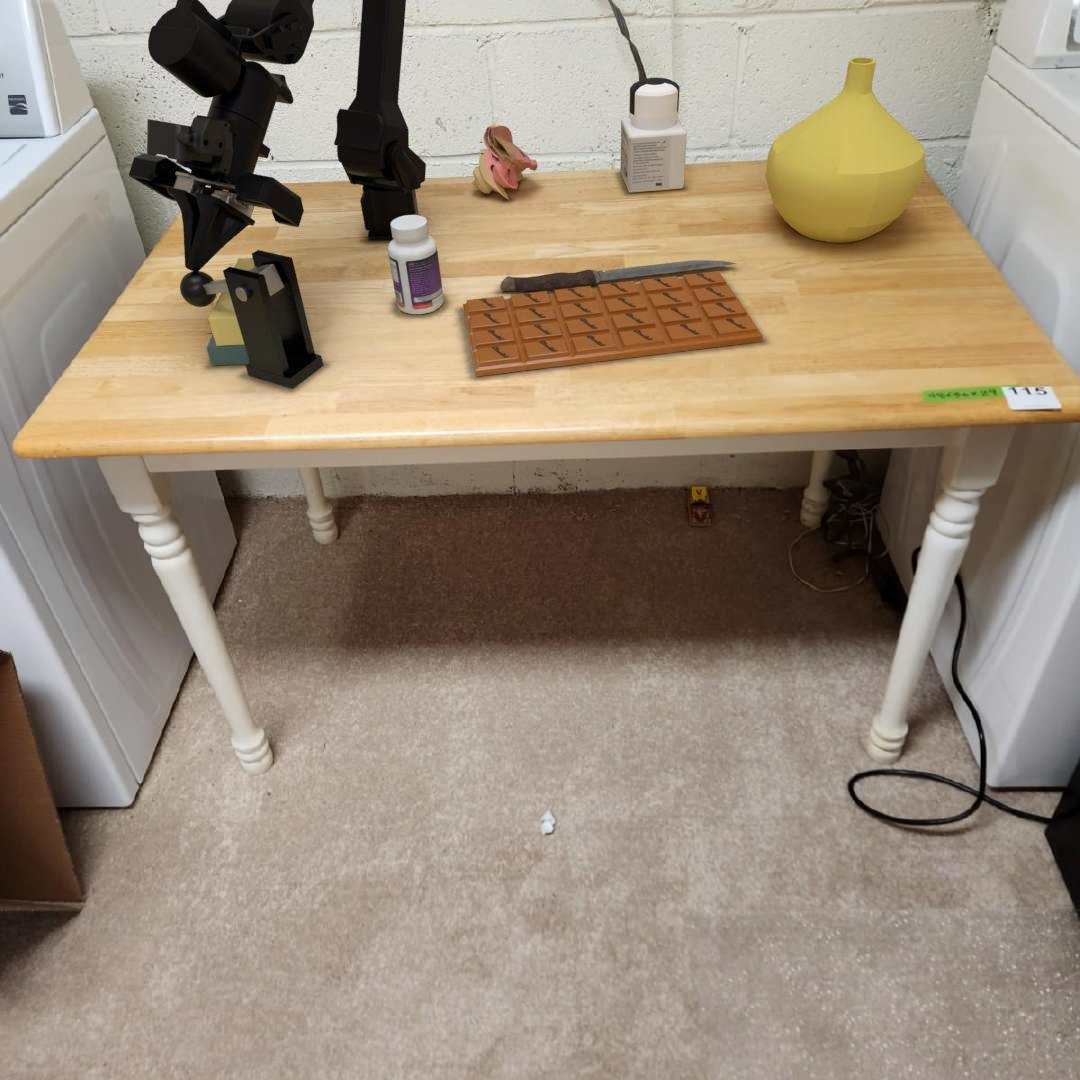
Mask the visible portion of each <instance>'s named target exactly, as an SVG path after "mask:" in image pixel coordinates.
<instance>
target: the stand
mask: <svg viewBox="0 0 1080 1080" xmlns="http://www.w3.org/2000/svg"><path fill="white" fill-rule="evenodd" d="M251 258H253V261H254V265H255V266H262V265H270V264H274V266H275V268H276V270H277V272H278V274H279V276H280V279H281V281H282V283H283V285H284V288H282V289H281V290H279V291H278V292H276V293H274V294H273V295H271V296H270V295H269V291H268V287H267V283H266V279H265V276H264V275H263V274H258V273H254V272H250V271H246V270H242V269H238V268H234V267H235V266H234V267H233V266H228V267H227V268H225V269H223V270H222V273H223V277H224V279H225V280H226V284H227V287H228V290H229V294H230V297H231V301H232V304H233V307H234V311H235V314H236V317H237V321H238V324H239V328H240V331H241V334H242V338H243V341H244V344H245V348H246V351H247V354H248V358H249V361H250V363H248V364H245V369H246V372H247V375H248V376H250V377H252V378H256V379H259V380H263V381H266V382H270V383H273V384H276V385H279V386H283V387H286V388H290V389H294V388H295V387H297V386H298V385H299V384H301V383H302V382H303V381H304V380H306V379H307V378H308V377H310V376H311V375H313V374H314V373H315V372H316V371H318V370H320V369H321V367H323V366H324V361H323V357H322V355H321V354H318V353H316V351H315V347H314V343H313V339H312V335H311V330H310V327H309V323H308V318H307V314H306V310H305V306H304V302H303V297H302V293H301V288H300V284H299V281H298V277H297V272H296V268H295V264H294V260H293V257H291V256H286V255H282V254H277V253H275V252H274V253H273V252H270V251H265V250H261V249H257V250H256V251H254V252H252V253H251Z"/></svg>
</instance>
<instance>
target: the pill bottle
mask: <svg viewBox="0 0 1080 1080" xmlns="http://www.w3.org/2000/svg"><path fill="white" fill-rule="evenodd" d="M420 215H421V214H419V215H405V216H401V217H398V218H396V219H394V220H393V221H392V222H391V231H392V237H393V239H391V241H390V242H389V244H388V247H387V254H388V259H389V260H388V261H389V265H390V272H391V277H392V284H393V289H394V295H395V299H396V300H395V301H396V305H397V308H398V309H399V310H400V311H402V312H403V313H405V314H410V315H424V314H429V313H432V312H434V311H437V310H438V309H440V307H441V306H442V305H443V304H444V301H445V300H444V299H445V298H444V289H443V283H442V282H443V281H442V276H441V269H440V268H441V267H440V261H439V254H438V246H437V245H438V244H437V242H436V240H435V239H434V238H433V237H432V236H430V235H429V231H430V230H429V223H428V220H427V218H426V217H425V216H423V215H421V216H420Z"/></svg>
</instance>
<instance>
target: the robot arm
mask: <svg viewBox="0 0 1080 1080" xmlns="http://www.w3.org/2000/svg"><path fill="white" fill-rule="evenodd" d="M314 1H315V0H231V1H230V2H229V4H228V5H227V8H226V9H225V12H224V14H222V15H221V16H218V17H217V18H216V17H215V16H214V15H212V13H211V12H210V11H209V10H208V9H207V7H206V6H205V5H204V4H203V3H202V2H201V1H200V0H176V4H175V7H172V8H170V9H169V10H167V11H166V12H164V13H163V14H162V15H161V16H160V18H159V19H158V20H157V21H156V24H155V25H152V26H151V28H150V31H149V34H148V39H147V48H148V53H149V56H150V57H151V59H152V60H153V61H154V62H155V63H156V64H157V65H159V66H160V67H161V68H162V69H164V70H165V71H166V72H168V74H170V75H172V76H173V77H174V78H176V79H177V80H178V81H179V82H181V83H182V84H184V85H185V86H186V87H187V88H189V89H190V90H191V91H193V93H195V94H196V95H198V96H200V97H201V98H205V99H210V98H212V99H211V101H210V105H209V109H208V111H207V114H206V115H200V114H196V116H195V117H194V118H193V119H192V122H191V125H186V124H180V123H174V122H168V121H163V120H157V119H151V118H148V119H147V123H146V124H147V126H146V127H147V128H146V129H147V131H146V153H141V154H138V155H136V156H134V157H133V159H132V163H131V166H130V169H129V173H128V176H129V178H131V179H133V180H135V181H136V182H138V183H139V184H142V185H143V186H145V187H147V188H148V189H150V190H152V191H153V192H155V193H156V194H159V195H160V196H162V197H164V199H167V200H170V201H172V202H176V204H177V205H178V208H179V210H180V213H181V221H182V228H183V229H182V230H183V249H184V250H183V251H184V267H185V268H186V269H187V270H189V271H190V272H192V271H195V272H198V271H201V269H203V268H204V267H205V265H206V264H208V262H210V261H211V260H212V259H213V258H214V257H215V256H216V255H217V254H218V252H220V251H221V250H222V249H223V248H224V247H225V246H226V245H227V244H228V243H229V242H231V240H233V239H234V238H235V237H236V236H237V235H238V234H240V233H241V232H243V230H245V229H246V228H247V227H248V226H249V227H254V226H255V224H256V220H255V219H253V218H252V215H253V212H254V208H255V207H257V208H262V209H266V210H271V214H272V216H273V219H274V221H275V222H276V223H278V224H280V225H285V226H290V227H295V228H299V227H300V225H301V221H302V218H303V214H304V212H305V210H304V205H303V200H302V197H301V196H300V195H298V194H297V193H296V192H294V191H293V190H291V189H290V188H288V187H287V186H285V184H283V183H282V182H280V181H278V180H277V179H276V178H275V177H272V176H268V175H262V174H256V173H255V169H256V166H257V163H258V160H259V158H262V159H263V158H264V159H268V158H269V156H270V153H271V148H270V147H269V146H267V145H266V144H265V143H264V142H265V138H266V135H267V132H268V129H269V125H270V122H271V119H272V115H273V113H274V110H275V108H276V107H275V106H276V103H280V104H287V105H292V104H293V103H294V96H293V93H292V91H291V89H290V87H289V86H288V83H287V79H286V76H285V75H284V74H282V73H281V74H280V73H273V72H270V70H269V69H267V68H266V67H265V66H264V65H262V64H261V63H268V64H277V65H296V64H297V63H299V62H300V60H301V59H302V58H303V56H304V54H305V52H306V50H307V47H308V43H309V41H310V37H311V35H312V32H313V29H314V27H315V17H314V8H313V5H314ZM406 6H407V0H362V1H361V16H360V31H359V46H358V47H359V48H358V63H357V64H358V65H357V76H356V77H357V78H356V92H355V97H354V98H353V100H352V102H350V105H349V107H347V108H339V109H338V111H337V114H336V134H335V139H334V142H333V144H334V145H333V146H336V156H337V160H338V162H339V163H340V164H341V166H342V168H343V170H344V173H345V175H346V176H347V179H348V181H349V183H350V184H351V185H359V186H362V194H361V197H360V200H359V202H360V207H361V214H362V220H363V223H364V225H363V226H364V230H365V231H367V232H368V233H367V239H368V240H369V241H381V240H382V241H383V240H393V237H392V231H391V222H392V221H393V220H394V219H396V218H398V217H401V216H405V215H420V216H422V215H421V214H420V213H419V208H418V207H419V206H418V200H417V194H416V190H419V189H421V187H422V186H421V185H422V184H423V183H424V182H425V181H426V171H427V170H426V169H427V164H426V161H424V160H423V159H422V158H421V157H420V156H418V154H416V152H414V150H412V149H411V147H410V145H409V144H410V141H409V140H410V139H409V138H410V137H409V132H410V131H409V127H408V125H407V122H406V120H405V119H406V118H405V117H404V115H403V113H402V109H401V107H400V105H399V93H400V81H401V80H400V79H401V69H402V55H403V44H404V31H405V20H406V19H405V18H406V8H407V7H406ZM259 62H260V63H259ZM173 160H176V161H173ZM185 168H186V169H185ZM187 169H189V170H190V171H188V170H187Z"/></svg>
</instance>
